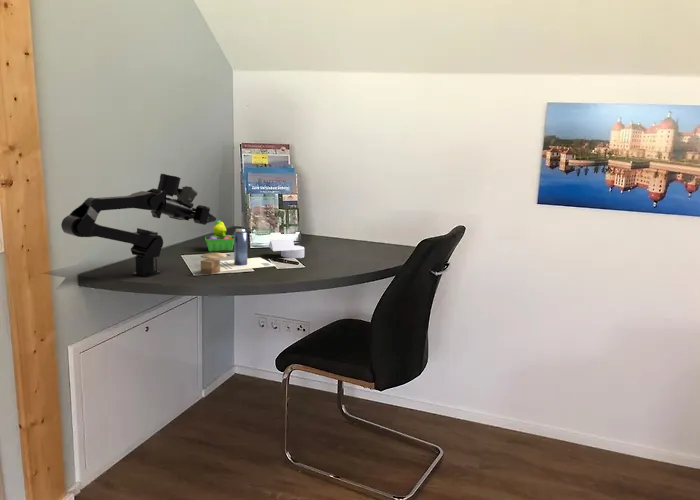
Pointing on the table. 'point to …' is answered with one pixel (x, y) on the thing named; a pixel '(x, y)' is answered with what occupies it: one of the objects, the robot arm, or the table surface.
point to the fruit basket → (219, 238)
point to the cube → (210, 266)
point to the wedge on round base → (287, 248)
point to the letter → (251, 263)
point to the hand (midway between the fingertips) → (207, 217)
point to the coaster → (214, 255)
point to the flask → (240, 247)
